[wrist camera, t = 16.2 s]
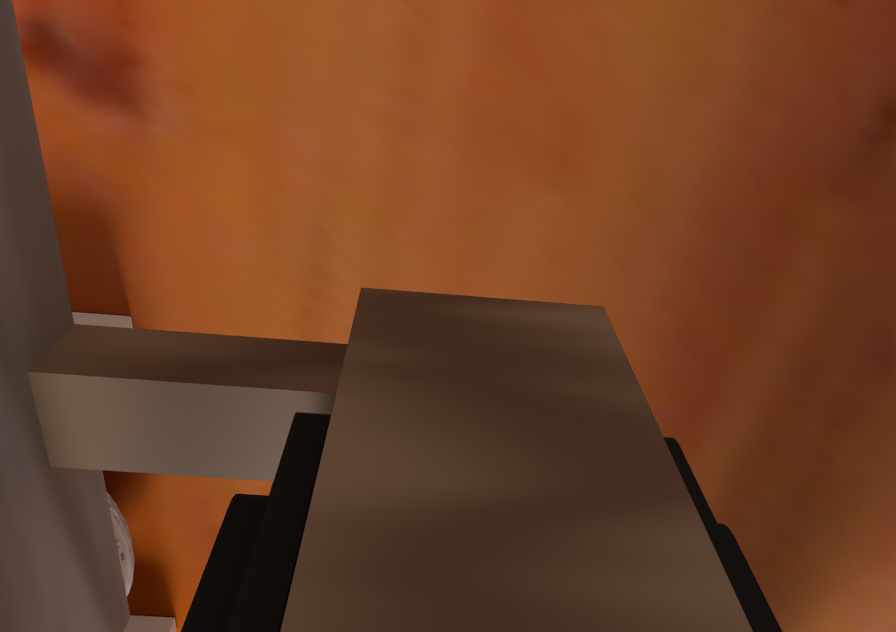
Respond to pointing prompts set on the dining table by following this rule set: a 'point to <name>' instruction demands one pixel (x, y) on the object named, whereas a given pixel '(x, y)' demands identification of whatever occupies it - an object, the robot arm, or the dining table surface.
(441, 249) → the dining table surface
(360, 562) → the scraper
